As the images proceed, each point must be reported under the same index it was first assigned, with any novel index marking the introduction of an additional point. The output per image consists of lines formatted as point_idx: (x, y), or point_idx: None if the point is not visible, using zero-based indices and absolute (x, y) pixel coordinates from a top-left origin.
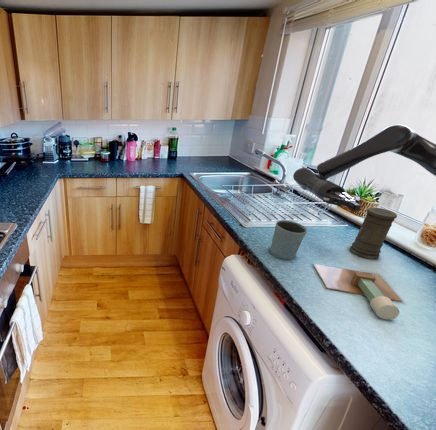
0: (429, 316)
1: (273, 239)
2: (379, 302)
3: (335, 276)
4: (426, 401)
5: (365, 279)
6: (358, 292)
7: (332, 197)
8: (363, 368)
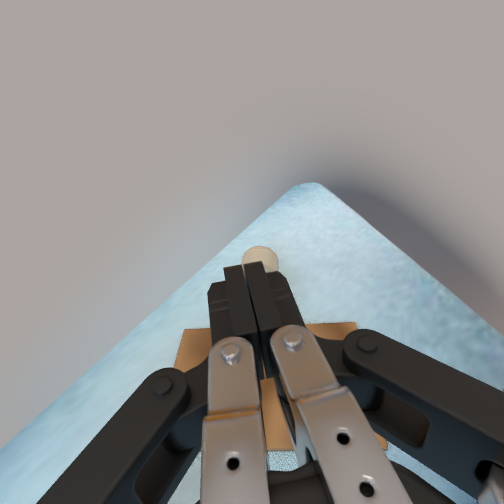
0: (161, 307)
1: None
2: (272, 256)
3: None
4: (284, 197)
5: None
6: None
7: (487, 385)
8: (334, 204)
